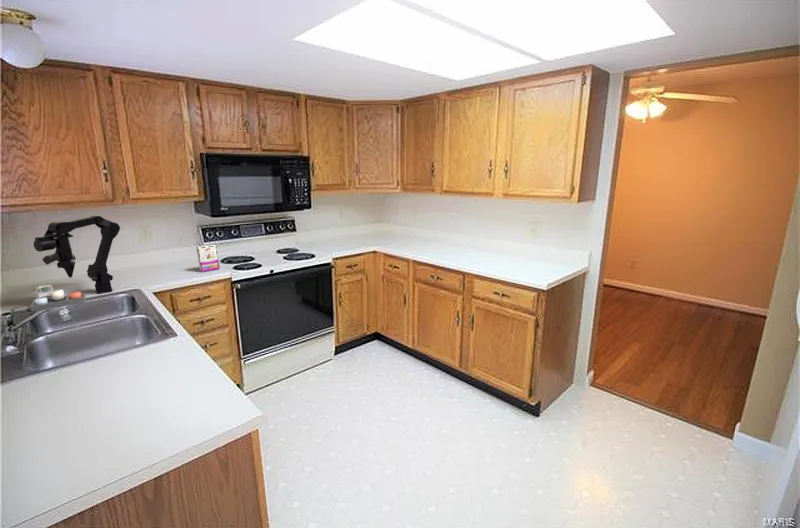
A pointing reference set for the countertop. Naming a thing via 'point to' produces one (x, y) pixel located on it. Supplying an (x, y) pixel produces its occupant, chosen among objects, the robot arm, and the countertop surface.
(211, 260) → the candy bar box
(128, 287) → the countertop surface
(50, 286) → the syrup box
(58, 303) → the console
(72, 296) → the red button
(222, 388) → the countertop surface
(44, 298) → the blue button
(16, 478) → the countertop surface
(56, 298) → the ivory button
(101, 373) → the countertop surface
